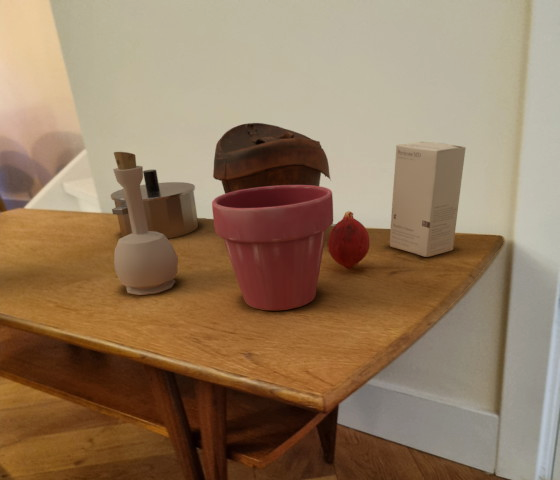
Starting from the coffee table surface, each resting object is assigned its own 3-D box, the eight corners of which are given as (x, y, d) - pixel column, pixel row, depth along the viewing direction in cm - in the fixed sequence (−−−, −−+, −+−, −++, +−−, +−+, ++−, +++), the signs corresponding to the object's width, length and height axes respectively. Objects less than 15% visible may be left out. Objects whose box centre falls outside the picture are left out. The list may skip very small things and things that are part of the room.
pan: (95, 241, 102) (85, 203, 99) (164, 216, 117) (158, 181, 114) (155, 247, 96) (147, 206, 92) (220, 219, 111) (216, 183, 107)
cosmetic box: (388, 247, 86) (391, 145, 79) (416, 239, 88) (421, 139, 81) (429, 259, 79) (435, 148, 72) (457, 250, 82) (467, 142, 75)
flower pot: (262, 274, 79) (254, 181, 73) (353, 285, 72) (352, 184, 66) (202, 310, 68) (186, 205, 62) (301, 327, 62) (294, 211, 56)
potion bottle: (106, 295, 76) (73, 156, 67) (143, 274, 83) (117, 146, 74) (159, 299, 73) (131, 155, 64) (193, 277, 80) (172, 144, 71)
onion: (368, 275, 75) (369, 216, 71) (326, 276, 76) (324, 217, 72) (370, 262, 80) (370, 206, 76) (330, 262, 81) (329, 207, 77)
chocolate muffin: (304, 259, 83) (297, 131, 75) (199, 249, 93) (182, 134, 84) (351, 229, 97) (350, 117, 88) (255, 223, 106) (245, 121, 97)
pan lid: (93, 203, 101) (87, 177, 99) (150, 187, 113) (145, 163, 111) (159, 207, 94) (154, 179, 92) (211, 188, 106) (208, 163, 104)
